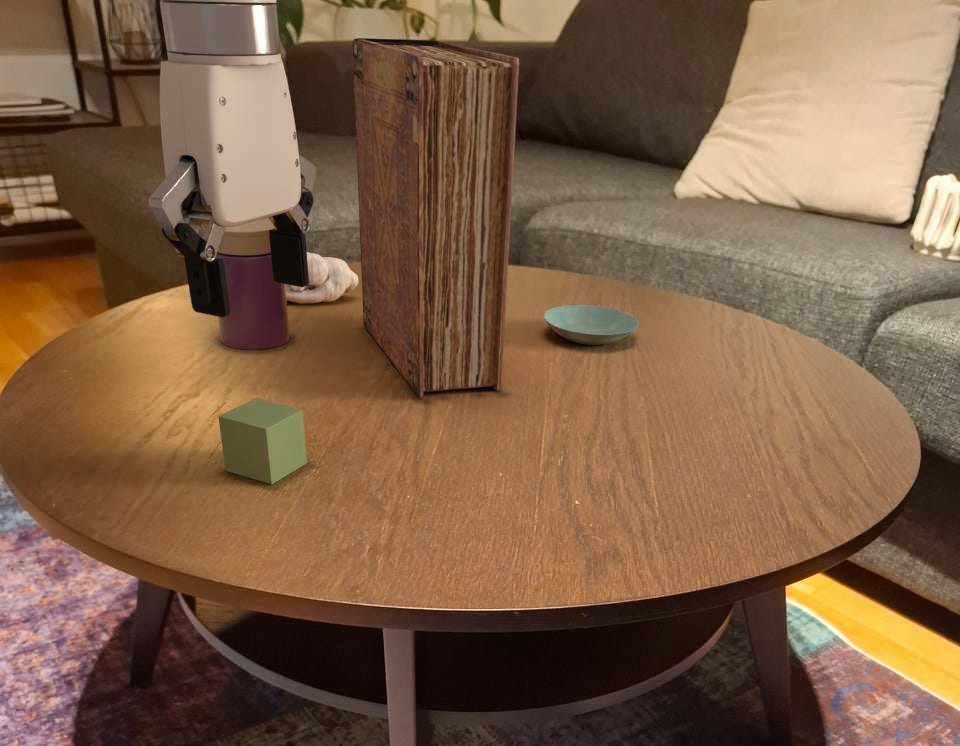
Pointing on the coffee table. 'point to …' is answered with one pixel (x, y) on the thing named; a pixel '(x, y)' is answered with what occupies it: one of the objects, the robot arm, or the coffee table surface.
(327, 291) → the baby figurine
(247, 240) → the jar lid
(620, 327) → the saucer
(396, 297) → the book
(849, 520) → the coffee table surface
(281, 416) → the block
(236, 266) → the jar
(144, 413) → the coffee table surface
